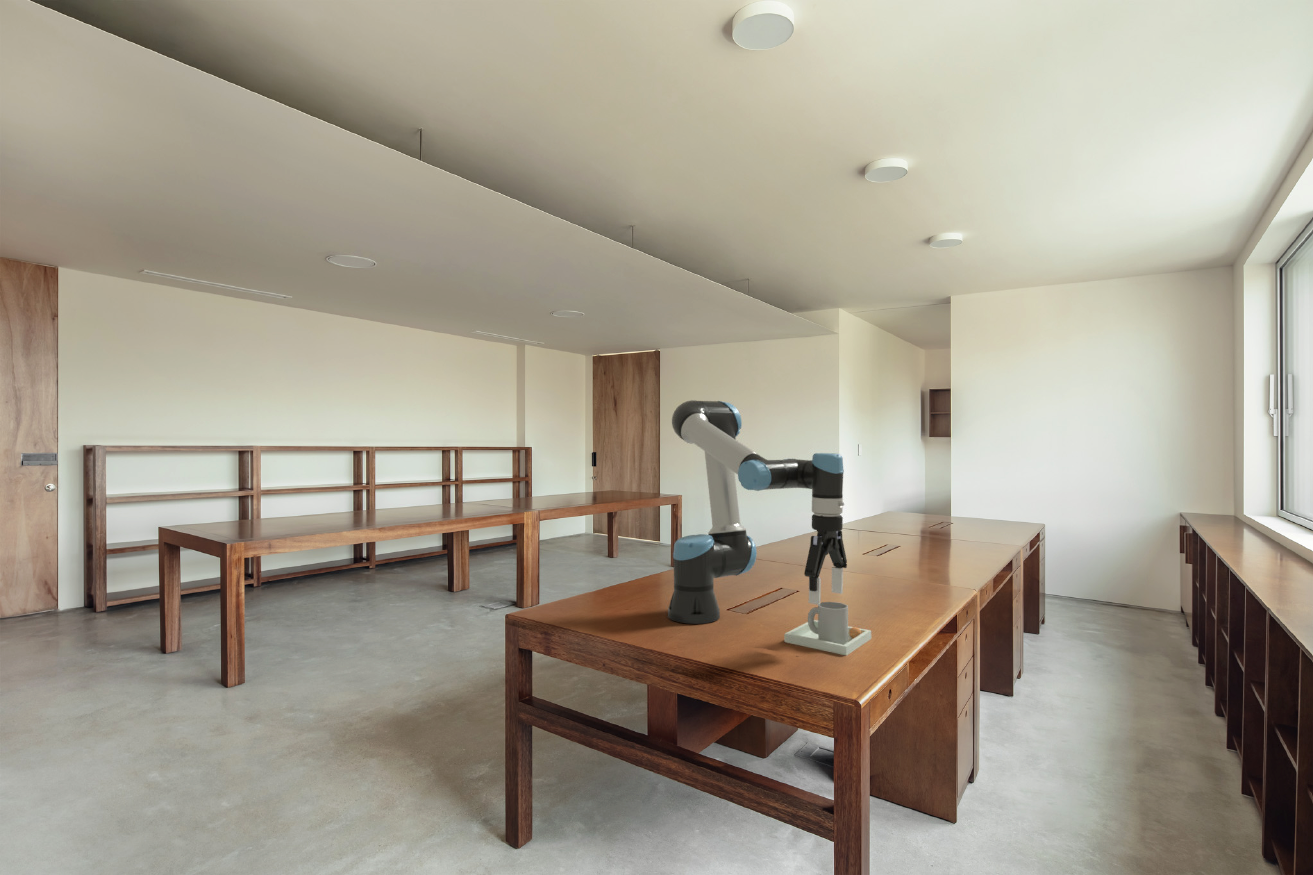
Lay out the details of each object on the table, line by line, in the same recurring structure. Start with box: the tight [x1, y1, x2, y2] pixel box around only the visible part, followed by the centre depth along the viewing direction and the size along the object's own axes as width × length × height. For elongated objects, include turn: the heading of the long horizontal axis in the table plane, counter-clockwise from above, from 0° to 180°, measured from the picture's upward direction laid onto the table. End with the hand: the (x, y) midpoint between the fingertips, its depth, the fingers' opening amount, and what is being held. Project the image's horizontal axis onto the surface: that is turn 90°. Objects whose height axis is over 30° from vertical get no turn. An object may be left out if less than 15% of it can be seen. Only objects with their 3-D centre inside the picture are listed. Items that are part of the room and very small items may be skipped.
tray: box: [783, 619, 872, 656], centre depth 154 cm, size 16×16×3 cm
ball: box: [849, 626, 861, 639], centre depth 155 cm, size 3×3×3 cm
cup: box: [807, 601, 849, 645], centre depth 154 cm, size 7×10×9 cm
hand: (826, 598), depth 155 cm, fingers open, 13 cm apart
